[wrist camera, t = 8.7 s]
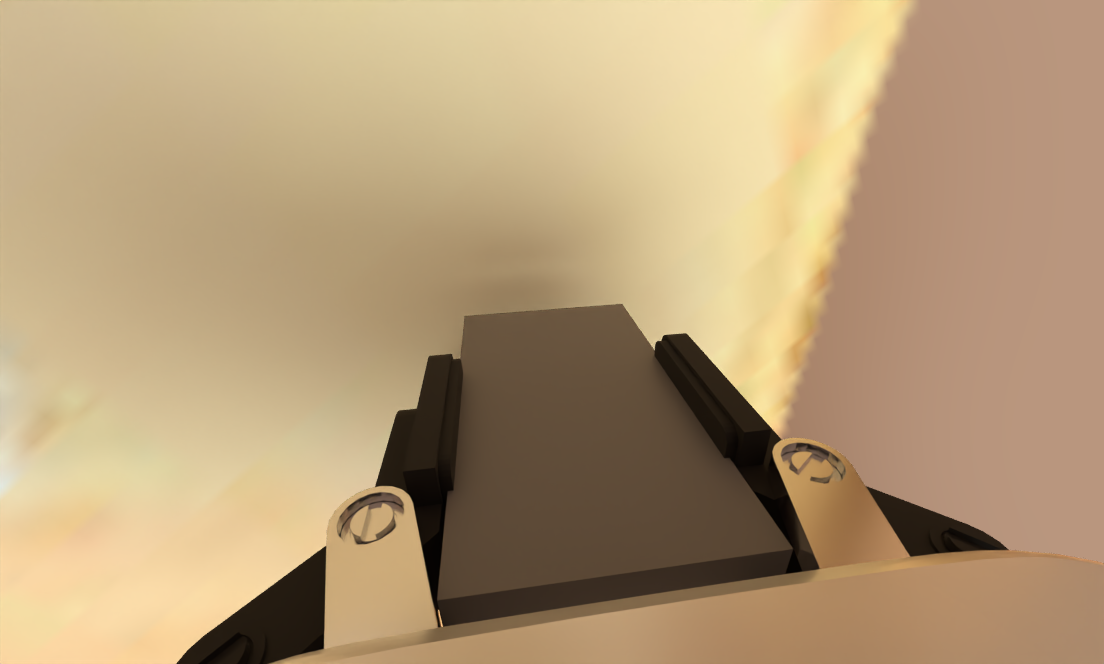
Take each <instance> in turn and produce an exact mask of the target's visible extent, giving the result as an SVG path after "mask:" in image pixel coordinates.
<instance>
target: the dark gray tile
mask: <svg viewBox="0 0 1104 664" xmlns="http://www.w3.org/2000/svg"><path fill="white" fill-rule="evenodd" d="M654 354H655V351H654V349H653V348H652V346H651V345H650V343H649V342H648V341H647V339H646V338H645V336H644V335H643V333H642V332H641V331H640V329H639V328H638V326H637V325H636V323H635V322H634V321H633V319H632V318H631V316H630V315H629V313H628V312H627V311H626V309H625V308H624V306H623V305H622V304H616V305H603V306H590V307H577V308H564V309H551V310H538V311H526V312H513V313H500V314H487V315H474V316H465V318H464V329H463V339H462V349H461V362H462V369H463V381H462V393H461V406H460V418H459V430H458V442H457V454H456V466H455V479H454V490H453V491H448V493H447V503H446V514H445V524H444V534H443V544H442V555H441V565H440V575H439V585H438V596H437V602H438V607H439V611H440V616H441V620H442V624H443V627H445V626H452V625H458V624H464V623H471V622H477V621H483V620H490V619H496V618H502V617H509V616H515V615H521V614H528V613H534V612H540V611H547V610H553V609H559V608H566V607H572V606H578V605H585V604H591V603H598V602H604V601H611V600H618V599H624V598H631V597H637V596H644V595H650V594H657V593H663V592H670V591H676V590H683V589H690V588H696V587H703V586H710V585H716V584H723V583H729V582H736V581H743V580H750V579H756V578H763V577H770V576H777V575H784V574H785V573H786V570H787V567H788V564H789V561H790V557H791V554H792V551H793V548H792V546H791V545H790V543H789V542H788V541H787V539H786V538H785V536H784V535H783V533H782V532H781V531H780V529H779V528H778V526H777V525H776V523H775V522H774V521H773V519H772V518H771V516H770V515H769V513H768V512H767V511H766V509H765V508H764V506H763V505H762V503H761V502H760V501H759V499H758V498H757V496H756V495H755V493H754V492H753V491H752V489H751V488H750V486H749V485H748V483H747V482H746V481H745V479H744V478H743V476H742V475H741V473H740V472H739V471H738V469H737V468H736V466H735V465H734V463H733V462H732V461H731V459H730V458H724V457H723V456H722V454H721V453H720V451H719V450H718V448H717V447H716V445H715V444H714V443H713V441H712V440H711V438H710V437H709V435H708V434H707V432H706V431H705V429H704V428H703V426H702V425H701V423H700V422H699V421H698V419H697V418H696V416H695V415H694V413H693V412H692V410H691V409H690V407H689V406H688V404H687V403H686V401H685V400H684V399H683V397H682V396H681V394H680V393H679V391H678V390H677V388H676V387H675V385H674V384H673V382H672V381H671V379H670V378H669V377H668V375H667V374H666V372H665V371H664V369H663V368H662V366H661V365H660V363H659V362H658V360H657V359H656V358H655V356H654Z"/></svg>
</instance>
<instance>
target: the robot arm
mask: <svg viewBox="0 0 1104 664" xmlns="http://www.w3.org/2000/svg"><path fill="white" fill-rule="evenodd" d="M654 356H655V358H656V359H657V360H658V362H659V363H660V365H661V366H662V368H663V369H664V371H665V372H666V374H667V375H668V377H669V378H670V379H671V381H672V382H673V384H674V385H675V387H676V388H677V390H678V391H679V393H680V394H681V396H682V397H683V399H684V400H685V401H686V403H687V404H688V406H689V407H690V409H691V410H692V412H693V413H694V415H695V416H696V418H697V419H698V421H699V422H700V423H701V425H702V426H703V428H704V429H705V431H706V432H707V434H708V435H709V437H710V438H711V440H712V441H713V443H714V444H715V445H716V447H717V448H718V450H719V451H720V453H721V454H722V456H723V457H724V458H730V459H731V461H732V462H733V463H734V465H735V466H736V468H737V469H738V471H739V472H740V473H741V475H742V476H743V478H744V479H745V481H746V482H747V483H748V485H749V486H750V488H751V489H752V491H753V492H754V493H755V495H756V496H757V498H758V499H759V501H760V502H761V503H762V505H763V506H764V508H765V509H766V511H767V512H768V513H769V515H770V516H771V518H772V519H773V521H774V522H775V523H776V525H777V526H778V528H779V529H780V531H781V532H782V533H783V535H784V536H785V538H786V539H787V541H788V542H789V543H790V545H791V546H792V548H793V551H792V554H791V557H790V561H789V564H788V567H787V570H786V573H785V574H784V575H777V576H770V577H763V578H756V579H750V580H743V581H736V582H729V583H723V584H716V585H710V586H703V587H696V588H690V589H683V590H676V591H670V592H663V593H657V594H650V595H644V596H637V597H631V598H624V599H618V600H611V601H604V602H598V603H591V604H585V605H578V606H572V607H566V608H559V609H553V610H547V611H540V612H534V613H528V614H521V615H515V616H509V617H502V618H496V619H490V620H483V621H477V622H471V623H464V624H458V625H452V626H445V627H441V622H440V617H439V612H438V610H439V607H438V602H437V596H438V585H439V575H440V565H441V555H442V544H443V534H444V524H445V514H446V503H447V493H448V491H453V490H454V479H455V466H456V454H457V442H458V430H459V418H460V406H461V393H462V381H463V369H462V362H461V359H454V360H453V356H452V354H446V355H435V356H429V358H428V362H427V366H426V371H425V375H424V379H423V384H422V388H421V393H420V397H419V402H418V406H417V409H410V410H400V411H398V412H397V414H396V417H395V420H394V424H393V427H392V431H391V434H390V438H389V441H388V444H387V448H386V451H385V455H384V458H383V462H382V465H381V469H380V472H379V475H378V479H377V482H376V486H375V487H374V488H369V489H366V490H364V491H362V492H359V493H357V494H355V495H354V496H352V497H350V498H349V499H347V500H346V501H345V502H344V503H342V504H341V505H340V506H339V507H338V508H337V509H336V510H335V512H334V514H333V515H332V517H331V519H330V520H329V524H328V528H327V543H326V546H325V547H324V548H322V549H321V550H320V551H318V552H317V553H316V554H314V555H313V556H311V557H310V558H309V559H307V560H306V561H305V562H303V563H302V564H301V565H299V566H298V567H297V568H295V569H294V570H293V571H291V572H290V573H288V574H287V575H286V576H284V577H283V578H282V579H280V580H279V581H278V582H276V583H275V584H274V585H272V586H271V587H270V588H268V589H267V590H265V591H264V592H263V593H261V594H260V595H259V596H257V597H256V598H255V599H253V600H252V601H251V602H249V603H248V604H247V605H245V606H244V607H242V608H241V609H240V610H238V611H237V612H236V613H234V614H233V615H232V616H230V617H229V618H228V619H226V620H225V621H223V622H222V623H221V624H219V625H218V626H217V627H215V628H214V629H213V630H211V631H210V632H209V633H207V634H206V635H205V636H203V637H202V638H201V639H200V640H199V641H198V642H196V643H195V644H194V645H193V646H192V647H191V648H190V649H188V650H187V652H186V653H185V654H184V655H183V656H182V658H181V659H180V660H179V661H178V662H177V664H1104V563H1102V562H1098V561H1093V560H1087V559H1082V558H1077V557H1071V556H1065V555H1060V554H1052V553H1039V552H1028V551H1017V550H1008V549H1007V548H1006V547H1005V546H1004V545H1003V544H1001V543H1000V542H999V541H997V540H996V539H994V538H993V537H991V536H989V535H988V534H986V533H985V532H983V531H981V530H979V529H976V528H974V527H972V526H970V525H968V524H965V523H962V522H959V521H957V520H954V519H952V518H949V517H946V516H944V515H941V514H938V513H936V512H933V511H930V510H928V509H925V508H923V507H920V506H917V505H915V504H912V503H909V502H907V501H904V500H901V499H899V498H896V497H893V496H891V495H888V494H885V493H883V492H880V491H877V490H875V489H872V488H869V487H867V486H865V484H864V483H863V481H862V480H861V478H860V476H859V475H858V473H857V472H856V470H855V469H854V467H853V465H852V464H851V463H850V462H849V461H848V460H847V458H846V457H845V456H843V455H842V454H841V453H839V452H838V451H837V450H835V449H833V448H831V447H829V446H828V445H826V444H823V443H820V442H817V441H814V440H810V439H804V438H788V439H784V440H781V439H780V437H779V436H778V435H777V434H776V433H775V432H774V431H773V430H772V428H771V427H770V426H769V425H768V424H767V423H766V422H765V421H764V420H763V418H762V417H761V416H760V415H759V414H758V413H757V412H756V411H755V409H754V408H753V407H752V406H751V405H750V404H749V403H748V402H747V401H746V399H745V398H744V397H743V396H742V395H741V394H740V393H739V392H738V390H737V389H736V388H735V387H734V386H733V385H732V384H731V383H730V382H729V380H728V379H727V378H726V377H725V376H724V375H723V374H722V373H721V371H720V370H719V369H718V368H717V367H716V366H715V365H714V364H713V362H712V361H711V360H710V359H709V358H708V357H707V356H706V355H705V354H704V352H703V351H702V350H701V349H700V348H699V347H698V346H697V345H696V343H695V342H694V341H693V340H692V339H691V338H690V337H689V336H688V335H687V334H686V333H683V334H672V335H664V336H663V338H662V341H657V342H656V345H655V354H654Z"/></svg>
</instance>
